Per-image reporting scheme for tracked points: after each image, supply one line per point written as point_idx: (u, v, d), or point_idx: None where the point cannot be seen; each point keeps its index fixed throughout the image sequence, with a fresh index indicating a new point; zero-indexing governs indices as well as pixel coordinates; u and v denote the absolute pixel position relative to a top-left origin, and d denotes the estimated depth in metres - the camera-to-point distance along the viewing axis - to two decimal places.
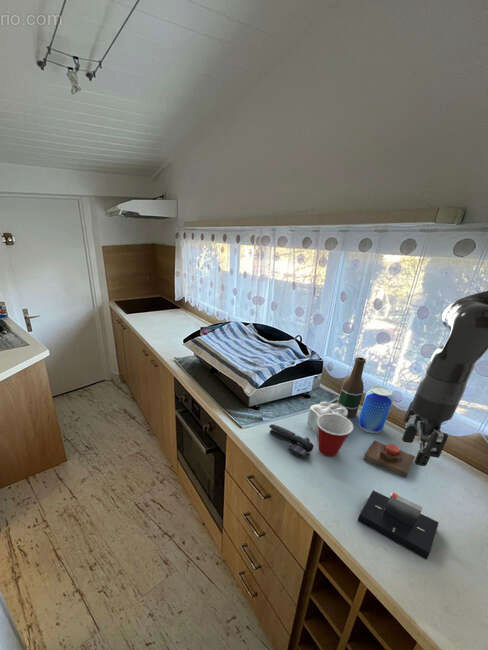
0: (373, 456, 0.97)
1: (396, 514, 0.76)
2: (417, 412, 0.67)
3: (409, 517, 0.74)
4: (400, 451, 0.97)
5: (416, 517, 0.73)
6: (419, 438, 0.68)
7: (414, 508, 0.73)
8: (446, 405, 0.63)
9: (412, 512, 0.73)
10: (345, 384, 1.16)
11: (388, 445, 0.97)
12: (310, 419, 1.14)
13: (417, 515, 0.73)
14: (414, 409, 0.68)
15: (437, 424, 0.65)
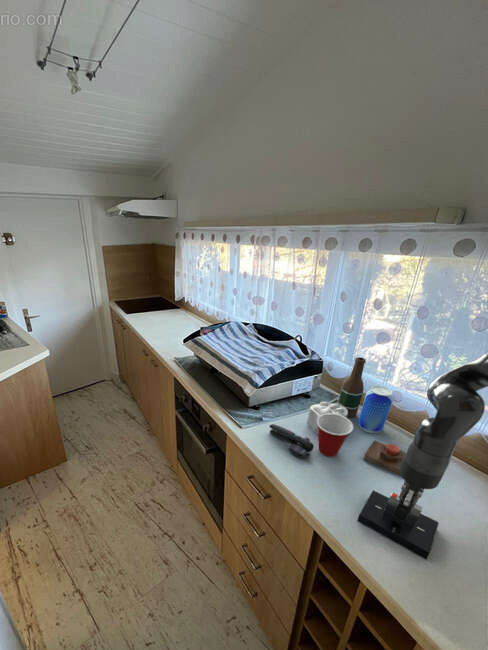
0: (373, 456, 0.97)
1: None
2: (400, 472, 0.71)
3: (409, 517, 0.74)
4: (400, 451, 0.97)
5: (416, 517, 0.73)
6: (399, 495, 0.73)
7: (414, 508, 0.73)
8: (421, 473, 0.66)
9: (412, 512, 0.73)
10: (345, 384, 1.16)
11: (388, 445, 0.97)
12: (310, 419, 1.14)
13: (417, 515, 0.73)
14: (399, 469, 0.72)
15: (413, 489, 0.68)
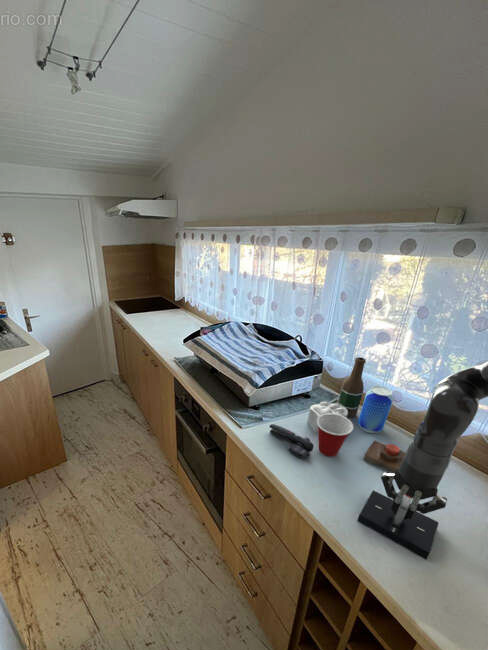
0: (373, 456, 0.97)
1: None
2: None
3: None
4: (400, 451, 0.97)
5: (396, 513, 0.74)
6: None
7: (400, 505, 0.73)
8: None
9: None
10: (345, 384, 1.16)
11: (388, 445, 0.97)
12: (310, 419, 1.14)
13: (397, 511, 0.74)
14: None
15: (398, 472, 0.73)
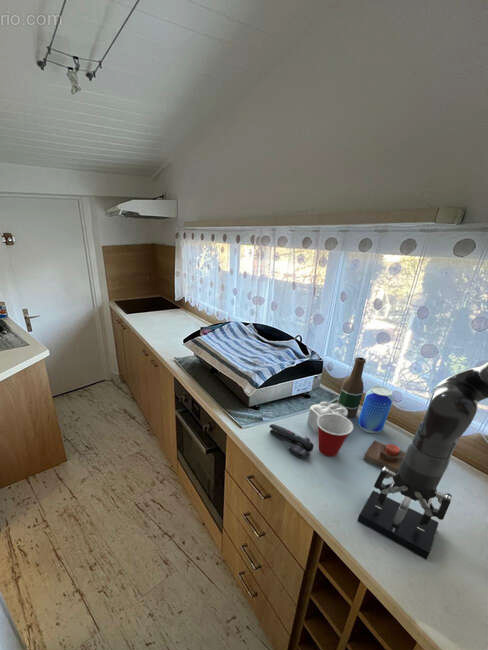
0: (373, 456, 0.97)
1: None
2: None
3: (396, 513, 0.75)
4: (400, 451, 0.97)
5: (396, 513, 0.74)
6: None
7: (400, 505, 0.73)
8: None
9: None
10: (345, 384, 1.16)
11: (388, 445, 0.97)
12: (310, 419, 1.14)
13: (397, 511, 0.74)
14: None
15: (397, 473, 0.73)
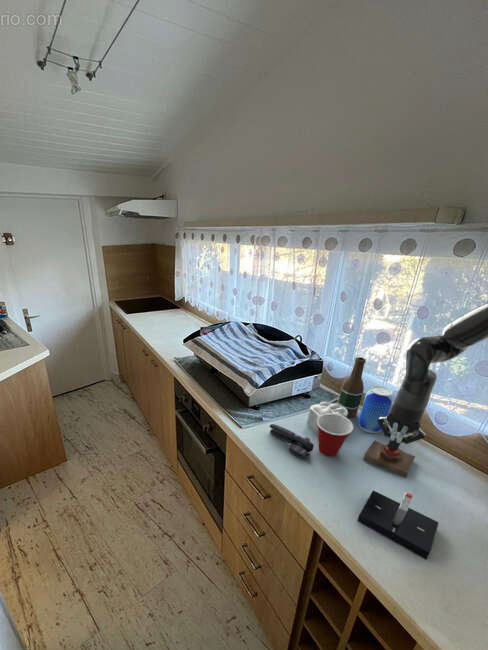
0: (373, 456, 0.97)
1: None
2: None
3: (396, 513, 0.75)
4: (400, 451, 0.97)
5: (396, 513, 0.74)
6: None
7: (400, 505, 0.73)
8: (395, 400, 0.91)
9: None
10: (345, 384, 1.16)
11: (387, 447, 0.97)
12: (310, 419, 1.14)
13: (397, 511, 0.74)
14: None
15: (390, 413, 0.93)
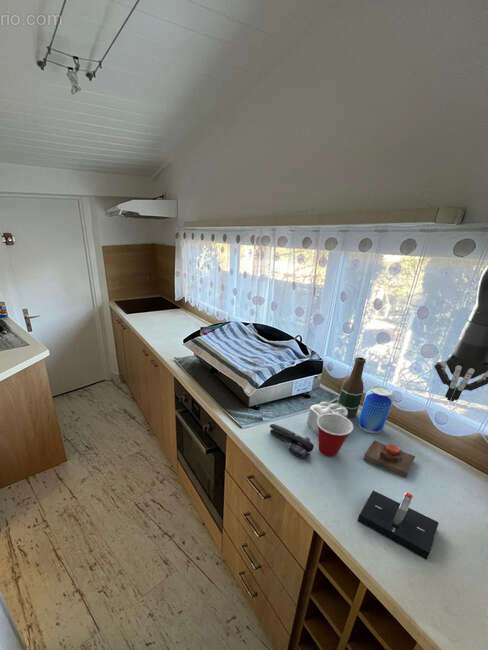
0: (373, 456, 0.97)
1: None
2: None
3: (396, 513, 0.75)
4: (400, 451, 0.97)
5: (396, 513, 0.74)
6: None
7: (400, 505, 0.73)
8: (458, 339, 0.78)
9: None
10: (345, 384, 1.16)
11: (388, 445, 0.97)
12: (310, 419, 1.14)
13: (397, 511, 0.74)
14: None
15: (450, 356, 0.80)
